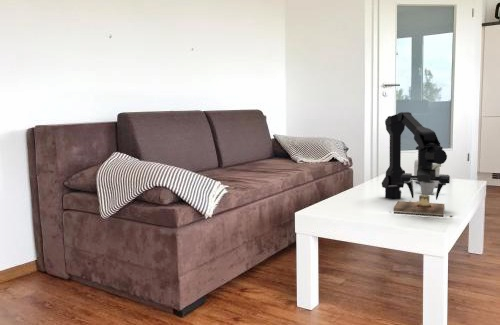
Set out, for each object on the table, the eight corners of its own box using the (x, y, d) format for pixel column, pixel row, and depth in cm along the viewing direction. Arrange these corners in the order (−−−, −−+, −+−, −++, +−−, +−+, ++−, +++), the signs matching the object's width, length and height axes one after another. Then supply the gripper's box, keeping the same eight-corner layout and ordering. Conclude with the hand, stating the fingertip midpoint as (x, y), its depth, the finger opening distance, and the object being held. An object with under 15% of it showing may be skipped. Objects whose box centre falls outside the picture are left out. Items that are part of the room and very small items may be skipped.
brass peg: (418, 213, 190) (418, 196, 189) (419, 211, 194) (419, 194, 193) (428, 213, 188) (429, 197, 188) (429, 211, 192) (429, 195, 191)
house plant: (449, 196, 221) (450, 163, 219) (420, 197, 221) (421, 164, 219) (437, 191, 235) (437, 159, 233) (410, 192, 235) (410, 160, 233)
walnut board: (393, 213, 190) (393, 207, 190) (400, 202, 211) (400, 196, 211) (443, 217, 183) (443, 210, 182) (445, 205, 203) (445, 199, 203)
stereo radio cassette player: (413, 181, 266) (414, 147, 264) (427, 181, 266) (428, 147, 263) (425, 188, 245) (426, 151, 243) (441, 188, 245) (442, 150, 243)
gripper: (399, 163, 185) (398, 201, 187) (449, 164, 177) (448, 204, 179) (402, 160, 195) (401, 196, 197) (450, 161, 187) (449, 198, 189)
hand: (424, 198), depth 190 cm, fingers open, 9 cm apart
